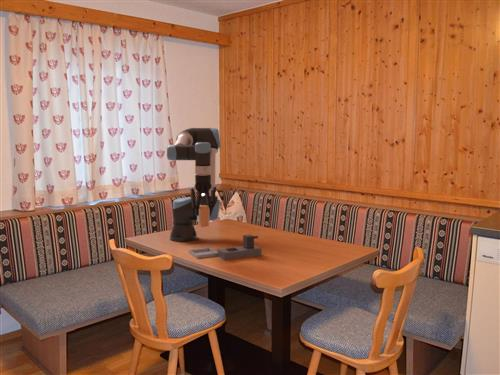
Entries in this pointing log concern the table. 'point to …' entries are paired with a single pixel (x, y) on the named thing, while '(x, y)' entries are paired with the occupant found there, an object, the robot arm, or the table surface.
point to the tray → (203, 252)
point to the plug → (204, 216)
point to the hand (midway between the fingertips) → (203, 221)
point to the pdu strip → (241, 249)
